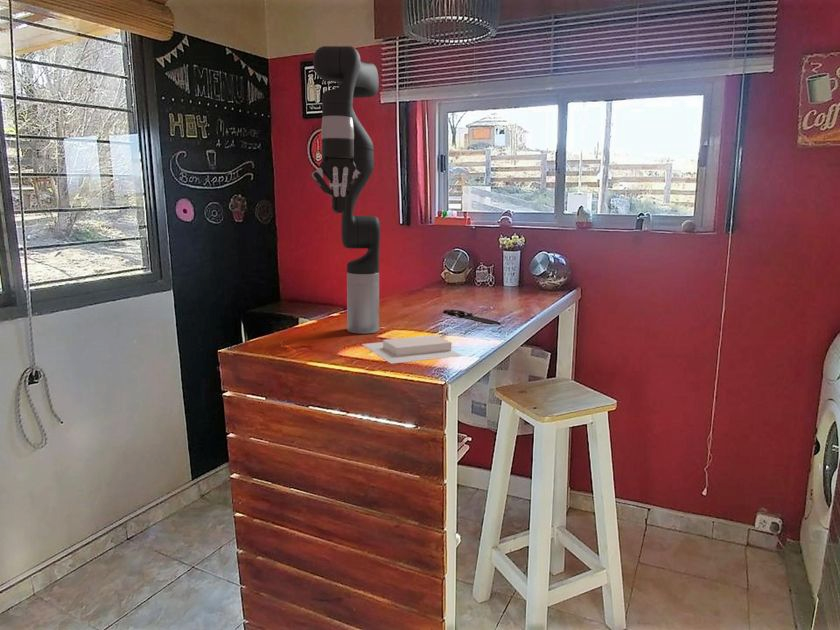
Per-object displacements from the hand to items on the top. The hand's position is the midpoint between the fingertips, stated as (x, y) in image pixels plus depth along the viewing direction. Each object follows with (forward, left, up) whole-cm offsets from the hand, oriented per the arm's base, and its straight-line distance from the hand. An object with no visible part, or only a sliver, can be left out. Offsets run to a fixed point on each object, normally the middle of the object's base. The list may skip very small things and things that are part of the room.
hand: (338, 212), depth 145 cm
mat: (+6, +17, -35) cm, 39 cm away
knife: (-27, +54, -36) cm, 70 cm away
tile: (+6, +11, -33) cm, 35 cm away
